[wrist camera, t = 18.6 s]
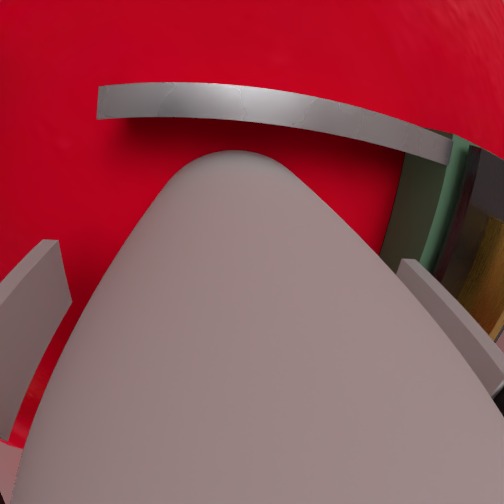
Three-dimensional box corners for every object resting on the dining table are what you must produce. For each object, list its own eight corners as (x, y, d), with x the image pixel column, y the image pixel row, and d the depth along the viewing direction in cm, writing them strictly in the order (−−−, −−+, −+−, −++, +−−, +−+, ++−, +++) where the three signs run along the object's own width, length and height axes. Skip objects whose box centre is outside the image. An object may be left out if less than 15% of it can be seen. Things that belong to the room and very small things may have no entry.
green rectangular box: (350, 334, 19) (368, 371, 16) (410, 125, 12) (453, 133, 9) (445, 325, 20) (466, 351, 17) (504, 167, 14) (538, 182, 11)
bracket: (139, 326, 17) (127, 370, 13) (129, 91, 11) (99, 86, 7) (351, 331, 19) (370, 369, 15) (409, 130, 13) (453, 140, 9)
